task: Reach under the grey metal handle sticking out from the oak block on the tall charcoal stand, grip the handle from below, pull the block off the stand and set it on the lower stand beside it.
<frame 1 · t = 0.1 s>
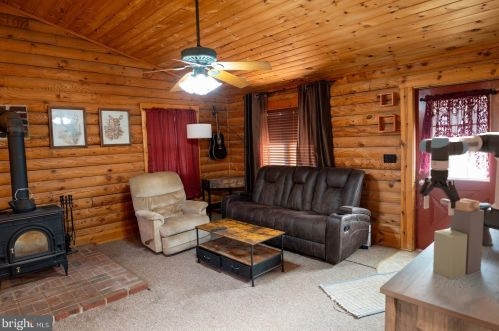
hand: (438, 211, 157), 28 cm above the table, tool pointing down, fingers open, 13 cm apart
handle block: (456, 206, 157), point 30 cm above the table, touching tall stand
low stand: (448, 273, 152), on the table
tall stand: (464, 269, 156), on the table
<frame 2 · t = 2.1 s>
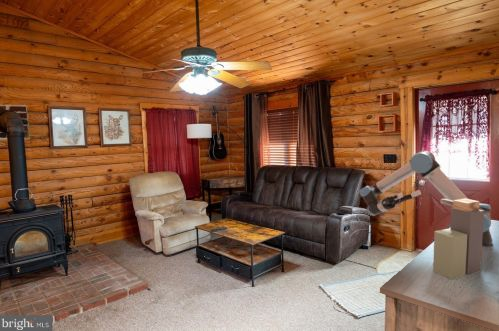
hand: (411, 193, 182), 32 cm above the table, tool pointing upward, fingers open, 13 cm apart
nothing on the table moved.
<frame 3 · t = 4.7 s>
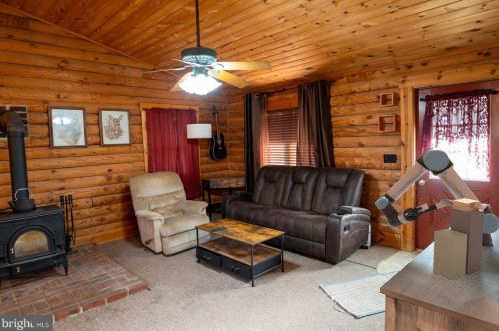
hand: (437, 204, 167), 29 cm above the table, tool pointing upward, fingers open, 13 cm apart
nothing on the table moved.
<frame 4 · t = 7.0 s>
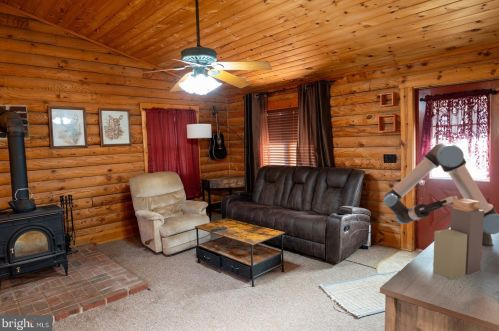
hand: (454, 198, 158), 34 cm above the table, tool pointing upward, fingers closed on handle block, 2 cm apart
handle block: (456, 206, 157), point 30 cm above the table, touching gripper, tall stand
everything else where it was.
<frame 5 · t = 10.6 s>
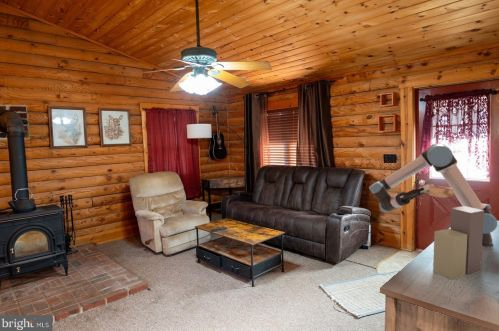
hand: (431, 186, 168), 38 cm above the table, tool pointing upward, fingers closed on handle block, 2 cm apart
handle block: (433, 193, 168), point 34 cm above the table, touching gripper
everything else where it was.
when the fingers open (25 cm above the table, at t = 14.5 s): handle block drops 1 cm, resting on low stand.
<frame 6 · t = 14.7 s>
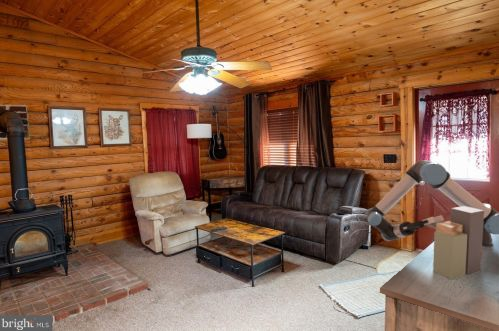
hand: (438, 218, 155), 25 cm above the table, tool pointing upward, fingers open, 5 cm apart
handle block: (440, 229, 155), point 20 cm above the table, touching low stand
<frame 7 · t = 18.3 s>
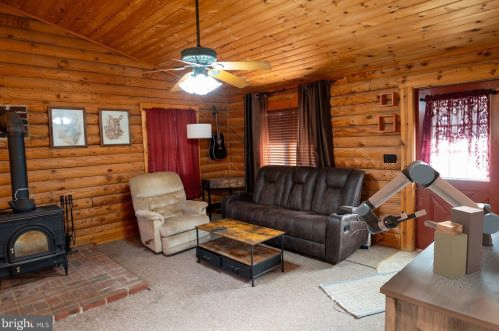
hand: (415, 213, 168), 24 cm above the table, tool pointing upward, fingers open, 13 cm apart
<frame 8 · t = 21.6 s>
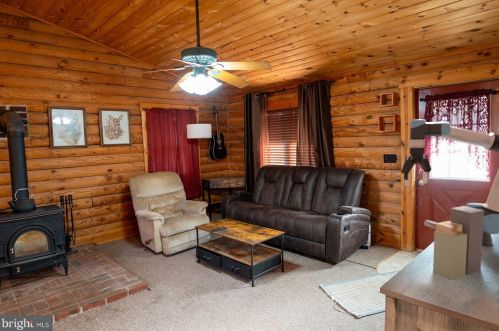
hand: (416, 184, 182), 37 cm above the table, tool pointing down, fingers open, 13 cm apart
at the end: handle block inside the target area on the low stand (0.3 cm from its centre), point 20.0 cm above the low stand's base; handle block touching low stand; the gripper is holding nothing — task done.
